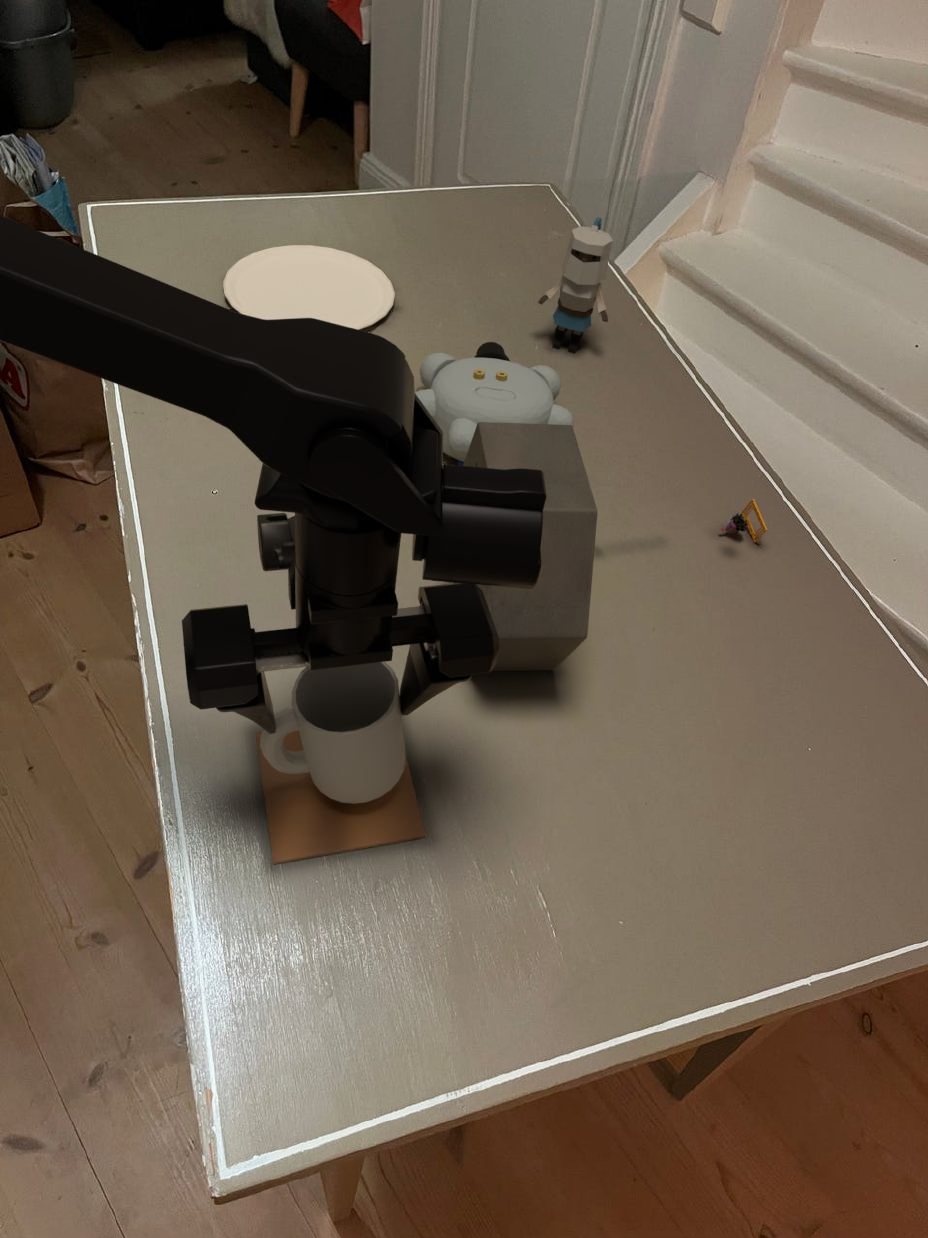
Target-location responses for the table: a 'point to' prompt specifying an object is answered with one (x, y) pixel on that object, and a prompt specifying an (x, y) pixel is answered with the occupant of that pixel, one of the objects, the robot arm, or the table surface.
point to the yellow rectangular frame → (740, 524)
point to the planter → (543, 546)
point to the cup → (343, 731)
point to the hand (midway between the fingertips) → (339, 718)
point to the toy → (580, 283)
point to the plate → (309, 286)
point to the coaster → (332, 814)
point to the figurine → (486, 395)
